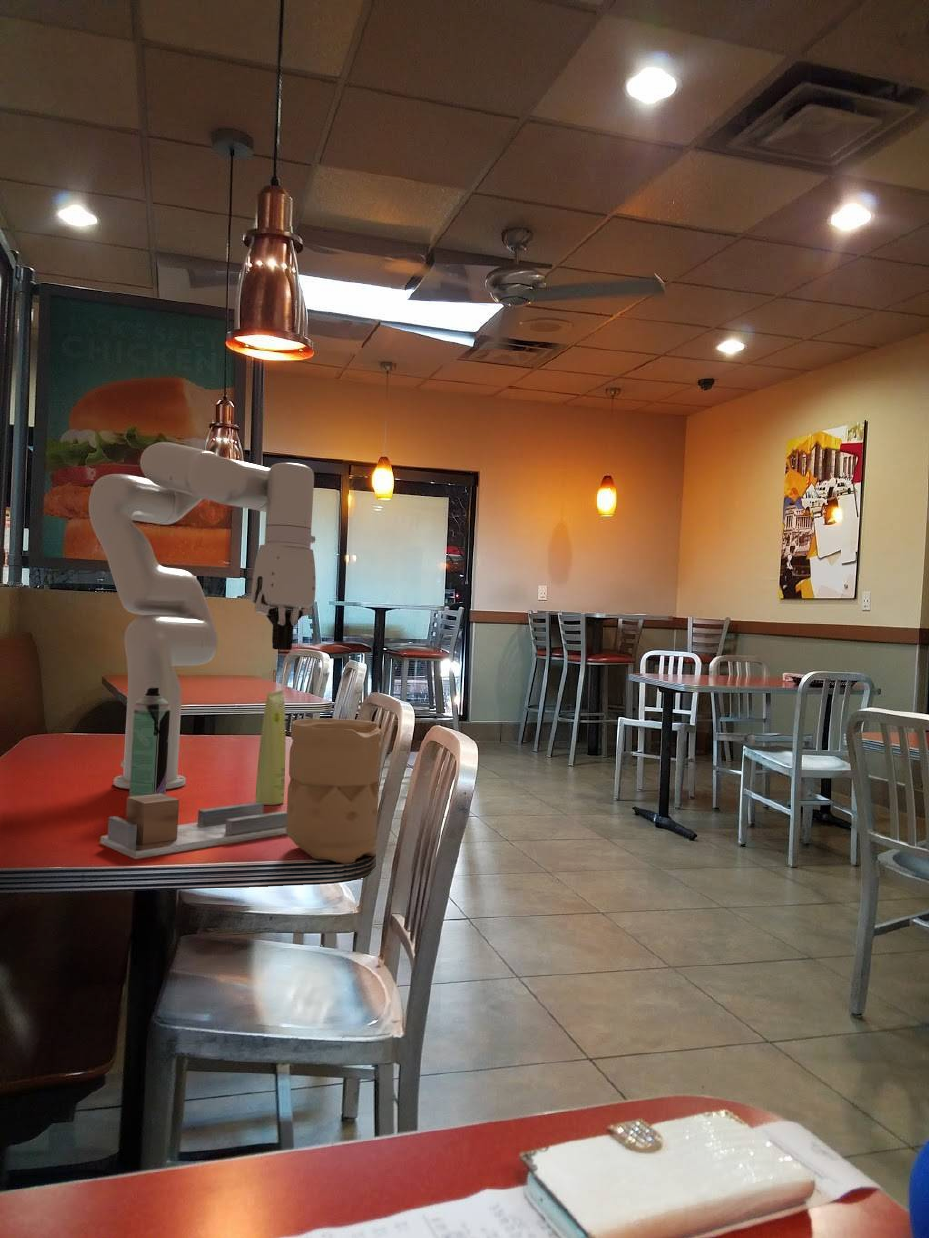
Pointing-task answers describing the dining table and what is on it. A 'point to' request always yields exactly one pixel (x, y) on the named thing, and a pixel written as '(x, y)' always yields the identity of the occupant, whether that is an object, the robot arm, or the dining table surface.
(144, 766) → the spray can
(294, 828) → the container
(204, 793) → the dining table surface
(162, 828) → the block
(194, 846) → the chute
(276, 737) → the tube
